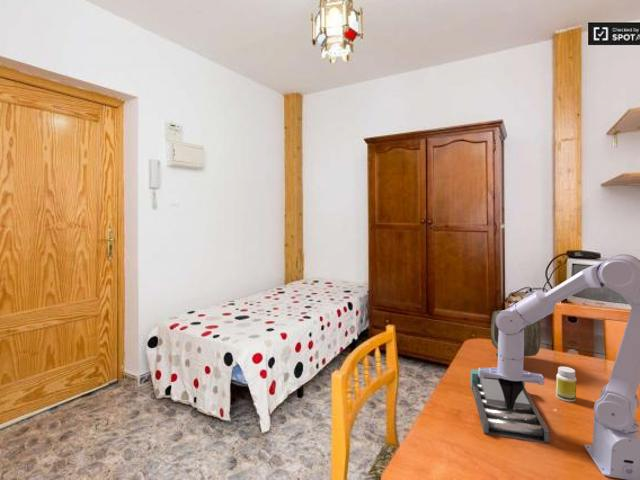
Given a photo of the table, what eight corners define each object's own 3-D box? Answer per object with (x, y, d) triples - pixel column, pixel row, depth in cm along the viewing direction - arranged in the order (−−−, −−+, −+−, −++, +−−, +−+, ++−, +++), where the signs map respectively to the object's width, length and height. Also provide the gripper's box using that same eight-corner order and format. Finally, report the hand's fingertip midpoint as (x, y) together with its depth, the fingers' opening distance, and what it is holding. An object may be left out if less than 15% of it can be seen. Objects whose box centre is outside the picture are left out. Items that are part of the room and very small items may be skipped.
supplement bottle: (579, 402, 98) (580, 373, 97) (560, 401, 99) (561, 372, 98) (570, 394, 102) (571, 366, 102) (552, 392, 103) (553, 365, 103)
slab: (529, 409, 89) (529, 404, 89) (486, 403, 92) (486, 398, 92) (517, 386, 101) (518, 382, 101) (480, 382, 104) (480, 377, 104)
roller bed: (549, 443, 81) (549, 432, 81) (483, 433, 85) (484, 422, 85) (523, 395, 102) (524, 386, 102) (472, 389, 106) (472, 380, 106)
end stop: (524, 396, 101) (525, 379, 101) (472, 390, 105) (472, 374, 105) (521, 390, 105) (522, 374, 104) (470, 384, 109) (471, 369, 108)
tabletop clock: (490, 354, 131) (491, 288, 129) (511, 352, 133) (513, 287, 131) (518, 371, 117) (520, 298, 115) (542, 369, 119) (544, 296, 117)
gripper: (538, 352, 90) (536, 403, 91) (477, 346, 94) (476, 395, 96) (547, 363, 84) (545, 418, 85) (481, 357, 88) (479, 409, 89)
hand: (509, 407), depth 90 cm, fingers closed, pressing on slab
